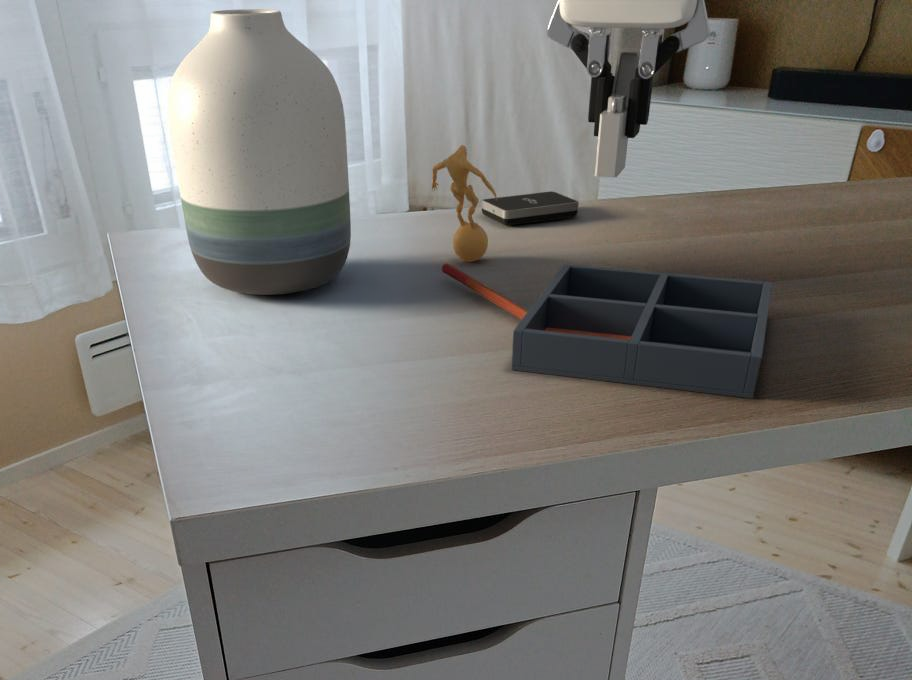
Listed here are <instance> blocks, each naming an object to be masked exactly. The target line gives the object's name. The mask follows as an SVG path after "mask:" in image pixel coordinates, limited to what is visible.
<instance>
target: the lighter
mask: <svg viewBox="0 0 912 680" xmlns="http://www.w3.org/2000/svg"><path fill="white" fill-rule="evenodd" d="M640 52H641V48H637V47H634V48H633V47H621V48H620V49H618V52H617V58H616V66H615V72H614V84H613V90H612V95H611V96H610V97H609V99H608V108H607V109H606V110H604V111H603V112H602V113H601V114H600V123H599V134H598V136H597V145H596V146H597V147H596V156H595V157H596V159H595V169H594V177H599V178H617V177H618V176H619V175H620V174H621V173H622V172H623V170H624V169H625V168H626V161H627V151H628V143H629V138H627V136H625V128H626V118H627V108H628V98H629V89H630V82H631V80H632V79H633V78H635V70H636V68H637V67H638V66H639V60H640Z"/></svg>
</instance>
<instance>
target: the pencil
mask: <svg viewBox="0 0 912 680" xmlns="http://www.w3.org/2000/svg"><path fill="white" fill-rule="evenodd" d="M441 271H442V273H443V274H445V275H447V276H448V277H450V278H452V279H453V280H455V281H456V282H458V283H460V284H461V285H463V286H465V287H466V288H467V289H469V290H471V291H473V292H475V293H476V294H478V295H480V296H481V297H483V298H485V299H486V300H487V301H490V302H491V303H493V304H494V305H496V306H498V307H500V308H502V309H503V310H505V311H506V312H508V313H509V314H511V315H513V316H514V317H515V318H518V319H520V321H521V320H522V319H523V318H524V316H525V315H526V314H527V312H528V311H529V310H530V309H527V308H526V307H524V306H522V305H521V304H519V303H517V302H515V301H514V300H512V299H510V298H509V297H507V296H505V295H503V294H502V293H500V292H498V291H497V290H495V289H493V288H492V287H490V286H488V285H486V284H484V283H483V282H481V281H480V280H477V279H475V278H474V277H473V276H471V275H469V274H467V273H465V272H464V271H462V270H460V269H458V268H457V267H455V266H454V265H451V264H450V263H448V262H447V263H443V264H442V266H441ZM546 328H547V327H546Z"/></svg>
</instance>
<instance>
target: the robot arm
mask: <svg viewBox="0 0 912 680" xmlns="http://www.w3.org/2000/svg"><path fill="white" fill-rule="evenodd" d="M685 24H687V25H686V27H685V28H684V29H682V30H680V31H677V32H675V33H672V34H670V35H669V36H666V38H665V39H664V36H665V35H664V34H665V29H674V28H678V27H681V26H684V25H685ZM576 27H578V28H579V27H580V28H589V34H588V33H587V32H585V31H582V30H580V29H578V28H576ZM613 28H614V29H642V37H641V44H640V50H641V52H640V60H639V66H638V67H637V68H636V70H635V78H633V79H632V80H631V82H630V89H629V98H628V108H627V118H626V128H625V136H627V138H628V139H635V138H636V137H637V135H638V134H639V133H640V130H641V125H642V126H647V124H648V122H649V118H650V117H649V116H650V110H651V101H652V92H653V85H654V75H655V74H657V72H658V71H660V69H662V67H663V66H664V65H665V64H667V63H668V62H669V61H670V60H671V58H673V56H674V55H676V54H677V53H680V52H682V51H684V50H687V49H690V48H691V47H694V46H697V45H699V44H701V43H703V42H705V41H707V39H708V38H709V37H710V34H711V27H710V22H709V18H708V12H707V7H706V2H705V0H557V2H556V5H555V8H554V10H553V12H552V15H551V18H550V20H549V23H548V26H547V28H546V35H547V37H548V38H549V40H552V41H554V42H556V43H558V44H559V45H562V46H563V47H565V48H568V49H570V50H572V51H573V53H574V54H575V55H576V57H577V58H578V59H579V61H580V62H581V64H582V65H583V66H584V67H585V69H586V72H587V74H588V75H589V76H590V77H591V80H590V91H589V103H588V114H587V119H588V120H587V121H588V123H593V124H594V125H593V137H598V134H599V123H600V114H601V113H602V112H603V111H604V110H606V109H607V108H608V99H609V97H610V96H611V95H612V90H613V84H614V77H615V75H614V73H613V72H612V65H611V63H610V58H611V47H612V36H613Z"/></svg>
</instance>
